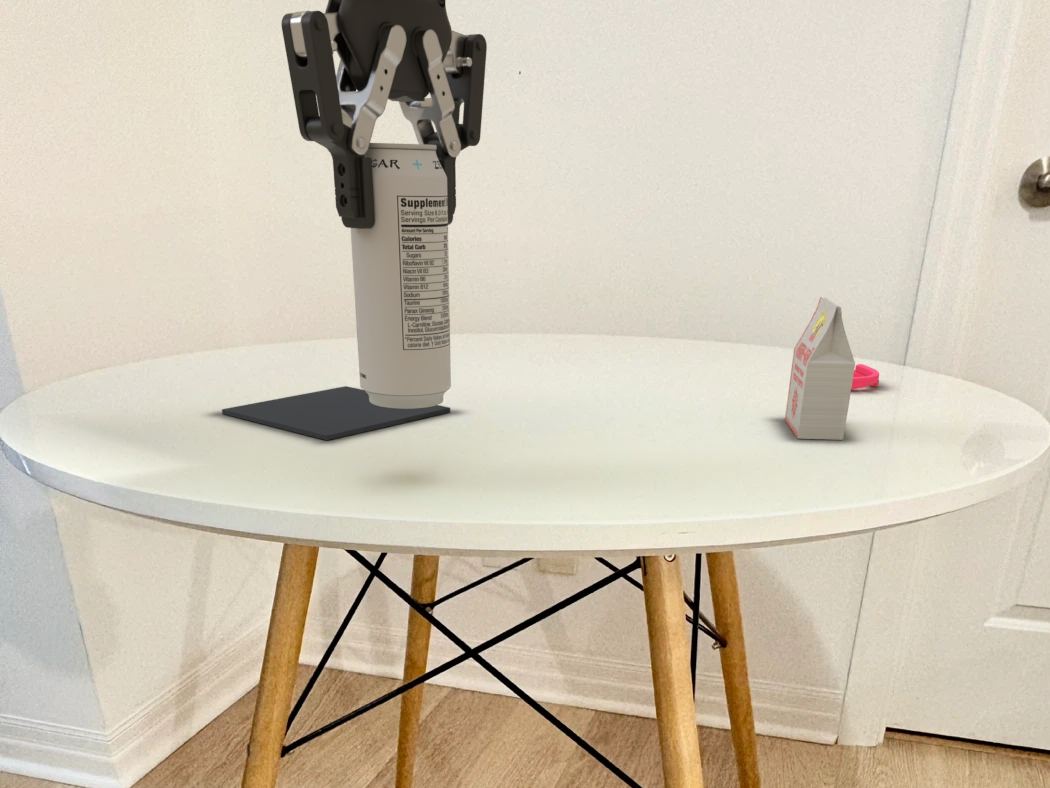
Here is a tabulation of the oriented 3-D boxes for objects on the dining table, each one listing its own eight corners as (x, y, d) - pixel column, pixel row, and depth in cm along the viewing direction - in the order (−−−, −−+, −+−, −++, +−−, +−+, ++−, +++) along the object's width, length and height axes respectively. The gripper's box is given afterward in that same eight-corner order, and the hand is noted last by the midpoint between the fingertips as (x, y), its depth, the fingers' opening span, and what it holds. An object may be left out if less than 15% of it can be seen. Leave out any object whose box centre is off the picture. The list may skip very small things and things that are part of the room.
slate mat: (326, 440, 79) (326, 435, 79) (222, 413, 87) (221, 409, 87) (450, 412, 89) (450, 407, 88) (346, 390, 96) (345, 386, 96)
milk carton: (827, 421, 87) (845, 297, 82) (843, 439, 81) (864, 307, 77) (784, 419, 88) (800, 296, 83) (797, 438, 82) (815, 306, 77)
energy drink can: (405, 388, 71) (395, 144, 64) (469, 400, 68) (467, 146, 61) (342, 400, 67) (323, 141, 60) (407, 414, 64) (396, 143, 56)
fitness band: (888, 390, 100) (891, 374, 99) (833, 392, 99) (836, 375, 98) (852, 375, 106) (854, 360, 106) (800, 376, 106) (802, 361, 105)
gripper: (430, -88, 61) (438, 220, 69) (229, -139, 51) (266, 226, 59) (524, -103, 57) (520, 226, 65) (325, -162, 47) (350, 234, 55)
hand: (399, 225), depth 62 cm, fingers closed on energy drink can, 6 cm apart
